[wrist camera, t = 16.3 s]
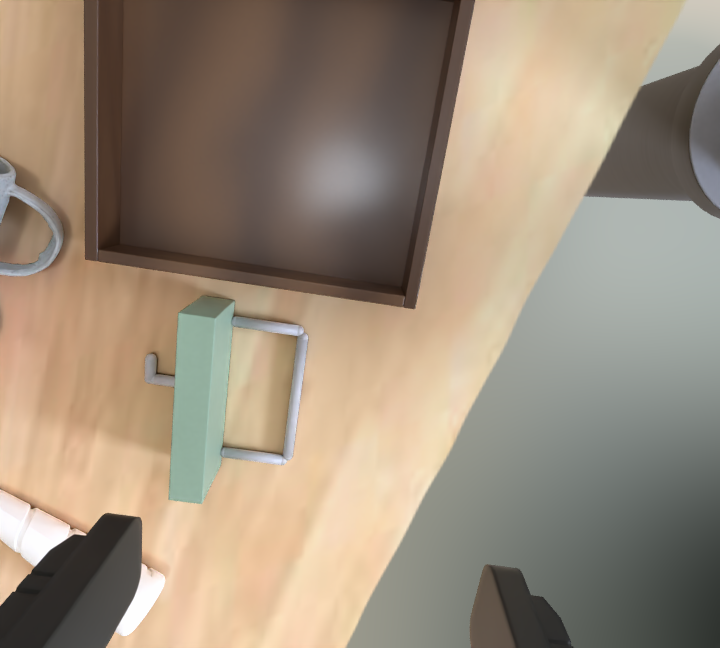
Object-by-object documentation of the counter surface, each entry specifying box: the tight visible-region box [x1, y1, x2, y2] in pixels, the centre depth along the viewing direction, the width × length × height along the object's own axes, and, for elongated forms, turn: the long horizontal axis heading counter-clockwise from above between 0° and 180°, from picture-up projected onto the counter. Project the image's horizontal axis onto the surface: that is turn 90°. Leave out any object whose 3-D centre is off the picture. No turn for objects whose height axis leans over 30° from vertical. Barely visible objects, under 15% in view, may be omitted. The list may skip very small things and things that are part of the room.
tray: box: [84, 0, 475, 309], centre depth 30 cm, size 22×20×4 cm
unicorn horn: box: [0, 489, 165, 636], centre depth 38 cm, size 5×24×5 cm, turn 50°
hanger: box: [145, 296, 308, 504], centre depth 34 cm, size 12×14×5 cm
